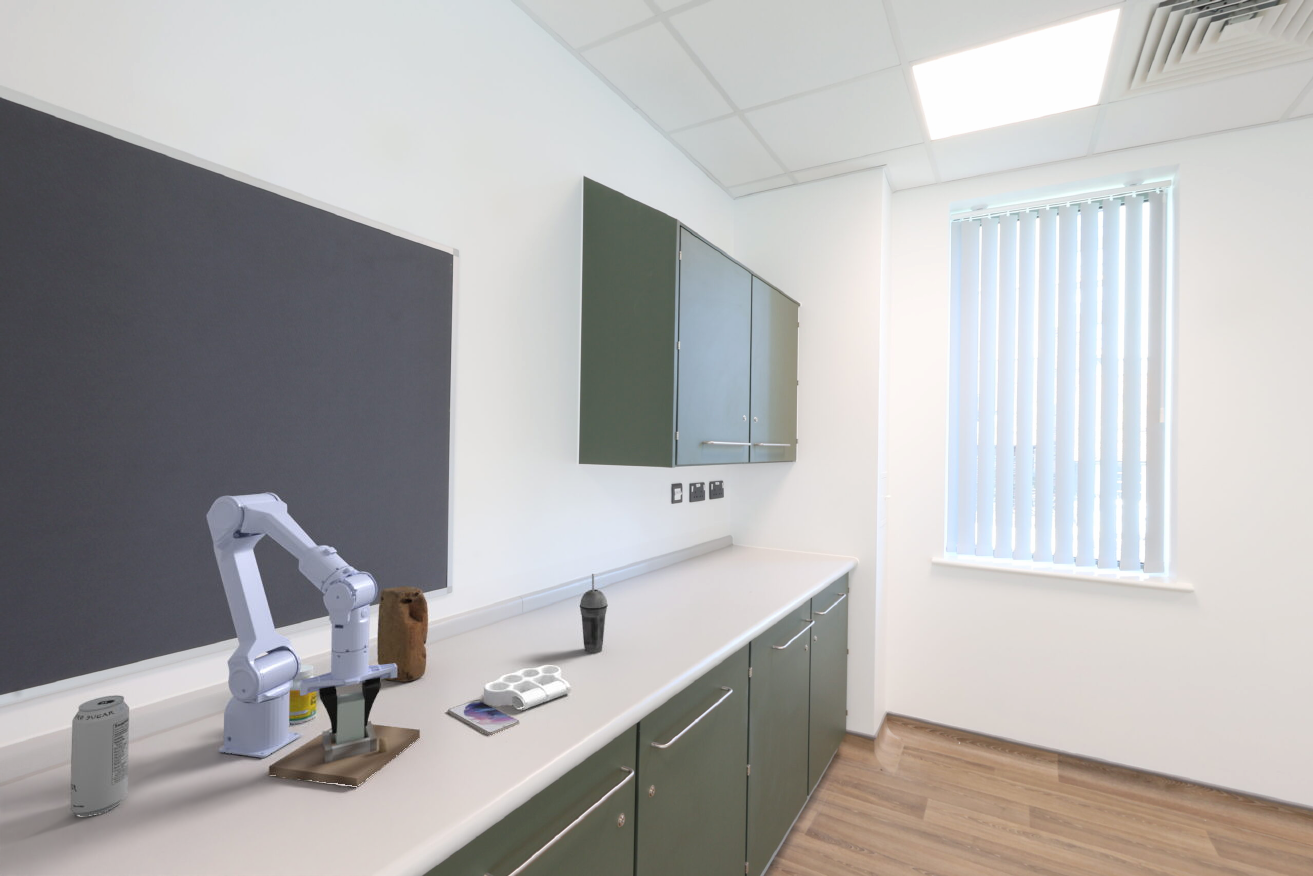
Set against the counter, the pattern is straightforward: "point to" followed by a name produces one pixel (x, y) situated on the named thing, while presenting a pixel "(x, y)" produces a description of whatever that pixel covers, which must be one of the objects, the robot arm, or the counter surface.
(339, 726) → the sage block
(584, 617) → the beverage cup
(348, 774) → the socket plate
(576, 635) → the counter surface
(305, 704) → the supplement bottle
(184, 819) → the counter surface
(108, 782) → the energy drink can
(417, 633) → the block
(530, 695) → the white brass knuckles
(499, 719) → the smartphone
